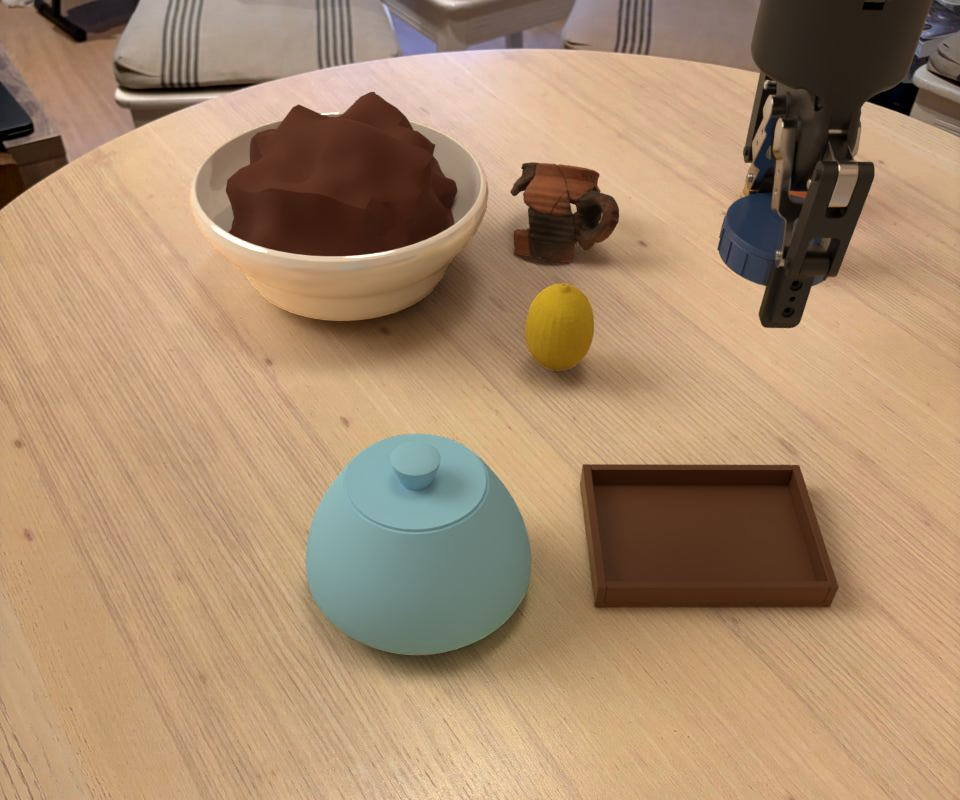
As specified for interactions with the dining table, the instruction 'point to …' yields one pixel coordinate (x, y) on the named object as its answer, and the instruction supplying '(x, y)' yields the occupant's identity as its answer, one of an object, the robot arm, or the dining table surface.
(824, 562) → the tray
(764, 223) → the lid
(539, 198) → the pottery mug
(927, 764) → the dining table surface
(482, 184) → the bowl of chocolate mousse
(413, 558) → the sugar bowl
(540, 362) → the lemon
